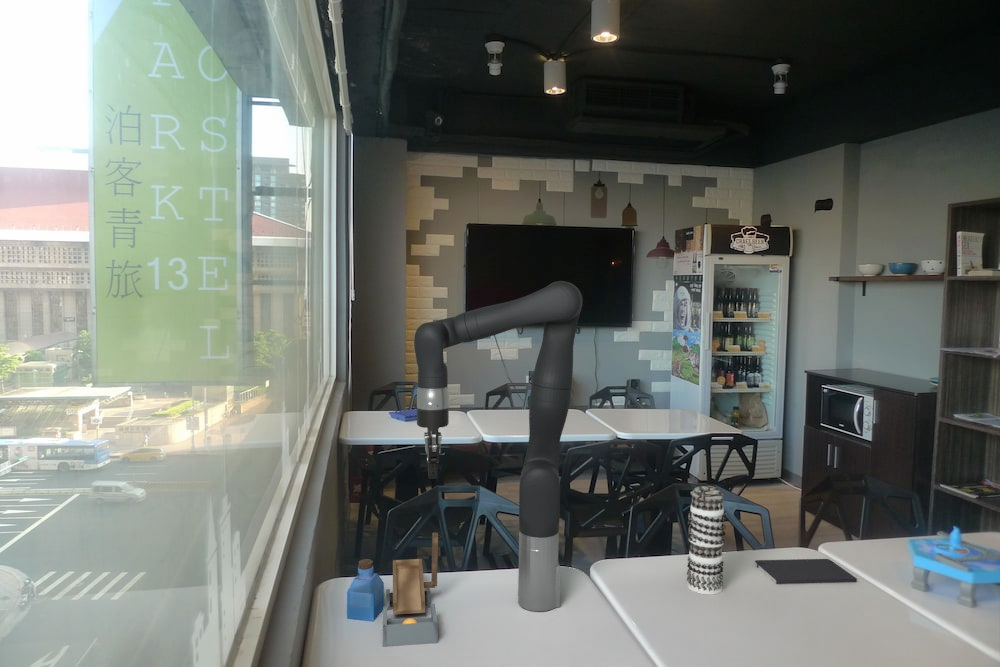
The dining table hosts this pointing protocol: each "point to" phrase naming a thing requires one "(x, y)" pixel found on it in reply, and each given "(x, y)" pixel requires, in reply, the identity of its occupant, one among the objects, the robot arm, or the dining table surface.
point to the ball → (409, 621)
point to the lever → (412, 582)
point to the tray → (410, 630)
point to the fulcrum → (390, 599)
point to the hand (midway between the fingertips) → (432, 477)
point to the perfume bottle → (365, 594)
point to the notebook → (804, 571)
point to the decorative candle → (706, 540)
